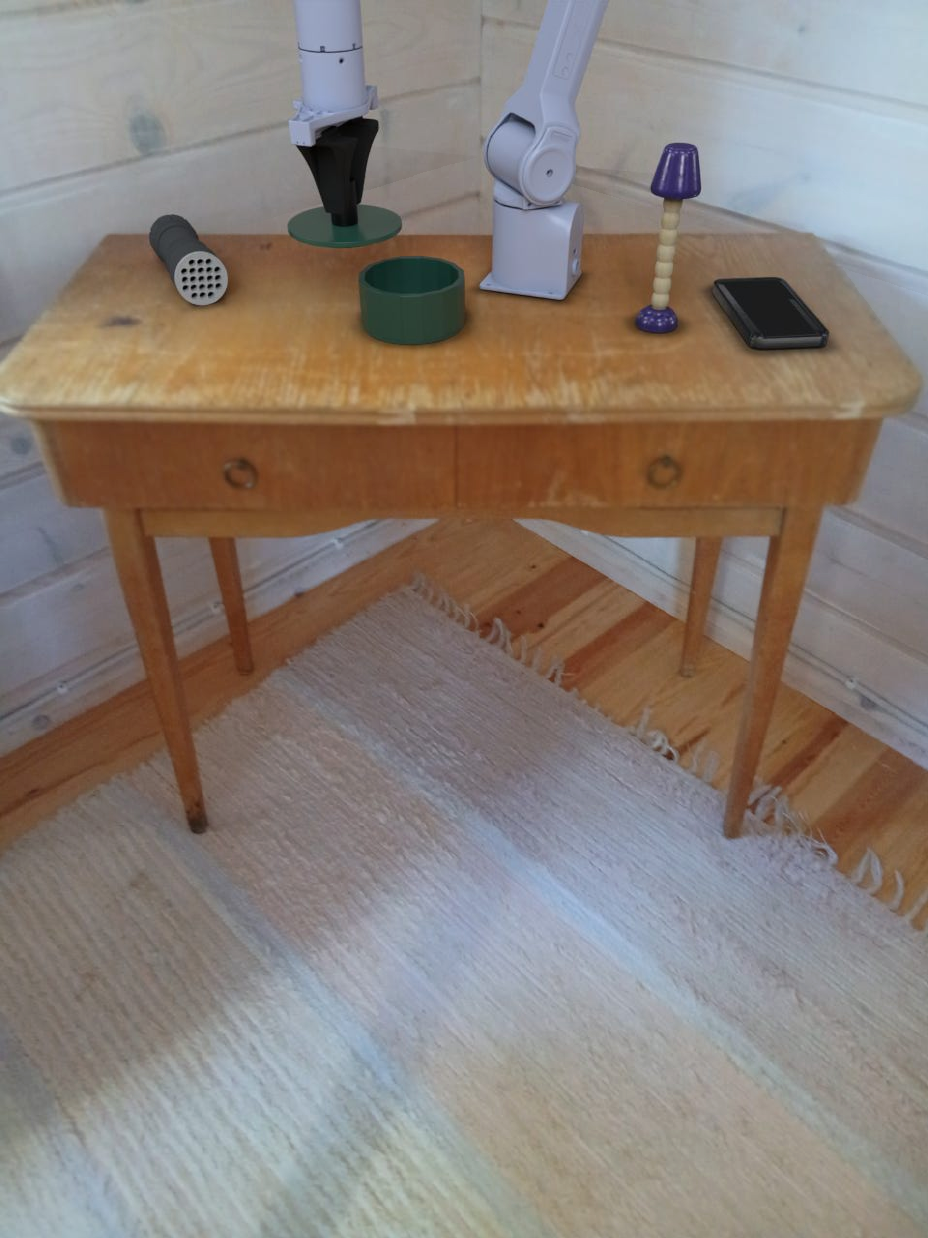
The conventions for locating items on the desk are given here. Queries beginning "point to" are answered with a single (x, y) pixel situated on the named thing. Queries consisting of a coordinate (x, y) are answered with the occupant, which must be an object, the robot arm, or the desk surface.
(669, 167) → the toy lamp
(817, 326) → the phone
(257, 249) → the desk surface
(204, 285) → the flashlight
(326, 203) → the robot arm
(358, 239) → the lid
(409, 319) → the pot
